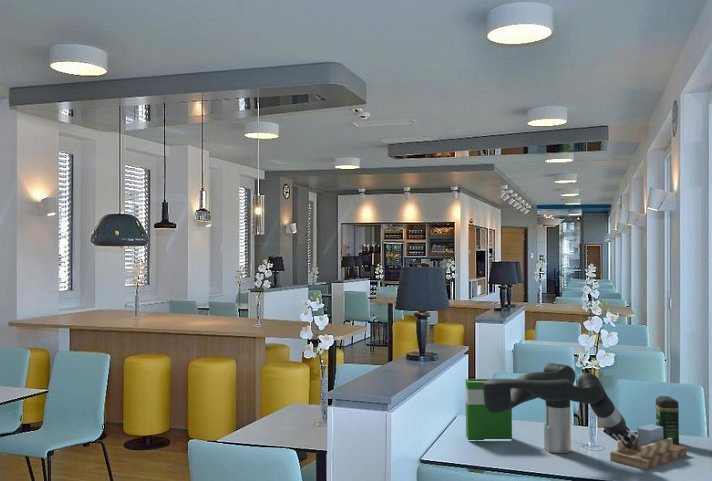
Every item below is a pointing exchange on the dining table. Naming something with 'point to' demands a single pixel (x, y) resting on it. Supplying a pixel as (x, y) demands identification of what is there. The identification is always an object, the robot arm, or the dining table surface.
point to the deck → (648, 454)
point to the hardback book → (484, 415)
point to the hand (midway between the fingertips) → (629, 446)
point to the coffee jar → (668, 417)
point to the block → (649, 435)
